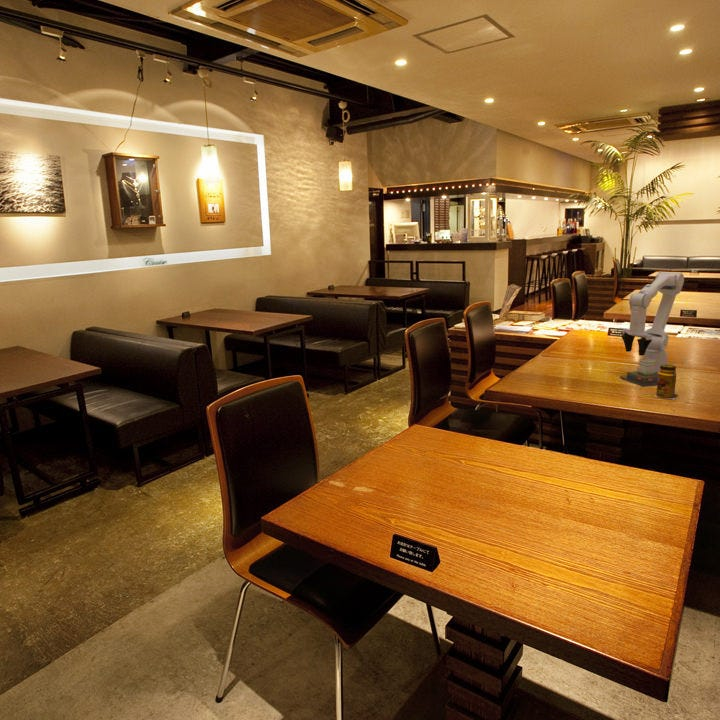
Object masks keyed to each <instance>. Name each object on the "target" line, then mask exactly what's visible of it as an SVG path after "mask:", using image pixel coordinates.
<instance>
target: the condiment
mask: <svg viewBox="0 0 720 720" xmlns="http://www.w3.org/2000/svg"><path fill="white" fill-rule="evenodd" d="M676 369H677V367H676V365H673V364H667V365H661V366H660V371H659V372H657V373H658V381H657V386H656V393H655V394H654V395H653V396H652V397H655V398H659V399H666V400H676V398H678V396H679V394H680V393H676V381H677V373H676V371H677V370H676Z"/></svg>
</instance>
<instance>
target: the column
mask: <svg viewBox="0 0 720 720" xmlns="http://www.w3.org/2000/svg"><path fill="white" fill-rule="evenodd" d="M638 362H639V363H638V368H639V369H638V370H637V371H638V374H641V375H644V376H650V375H654V367H655V360H653V359H650V358H643V357H642V358H639V361H638Z"/></svg>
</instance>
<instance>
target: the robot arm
mask: <svg viewBox="0 0 720 720" xmlns="http://www.w3.org/2000/svg"><path fill="white" fill-rule="evenodd" d="M684 283H685V275H684V274H683V272H681V271H680V272H671V271H670V272H669V271H658V272H657V273H656V274H655V279H654V281H653V282H652V283H649V284H645V285H644V286H643V288H641V289H640V290H639V291H638V292H634V293H631V295H630V296H629V300H628V305H629V310H630V319H629V321H630V322H629V329H628V328H623V329H622V335H621V336H620V337H621V339H622V341H623V343H624V347H625V348H624V349H625V352H626V353H627V352H632V350H633V344H634V339H635V338H636V337H637V339H636V341H637V344H638V355H639V356H641V357H642V358H650V359H653V360H655V367H654V372H655V373H659V371H660V366H661V365H668V360H669V359H668V353H667V351H666V349H667V348H668V346H669V345H668V344H669V337H670V336H669V335H668V333H667V332H666V331H665V329H666V327H667V324H668V323H667V322H668V320H669V317H670V314H671V311H672V309H673V305H674V303H675V300H676V297H677V295H678V294H681V291H682V289H683V286H684ZM658 292H659V293H660V294H662V296H661V299H660V302H659V306H658V307H657V308H658V309H657V310H656V314H655V316H654V320H653V323H652V326H651V327H650V328H648V329H646V319H647V311H648V310H647V308H648V307H649V306H650V305H651V302H652V299H653V298H655V297H656V296H657V294H658ZM637 369H638V370H639V367H637Z"/></svg>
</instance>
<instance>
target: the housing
mask: <svg viewBox="0 0 720 720" xmlns="http://www.w3.org/2000/svg"><path fill="white" fill-rule="evenodd" d="M638 371H639V370H634V371H627V373H626V375H620V376H619V379H620V378H621V380H623V381H625V382H629V383H631V384H634V385H637V386H640V387H642V388H646V387H655V386H656V387H657V381H658V373H659V372H654V375H650V376H644V375H641V374H638Z"/></svg>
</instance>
